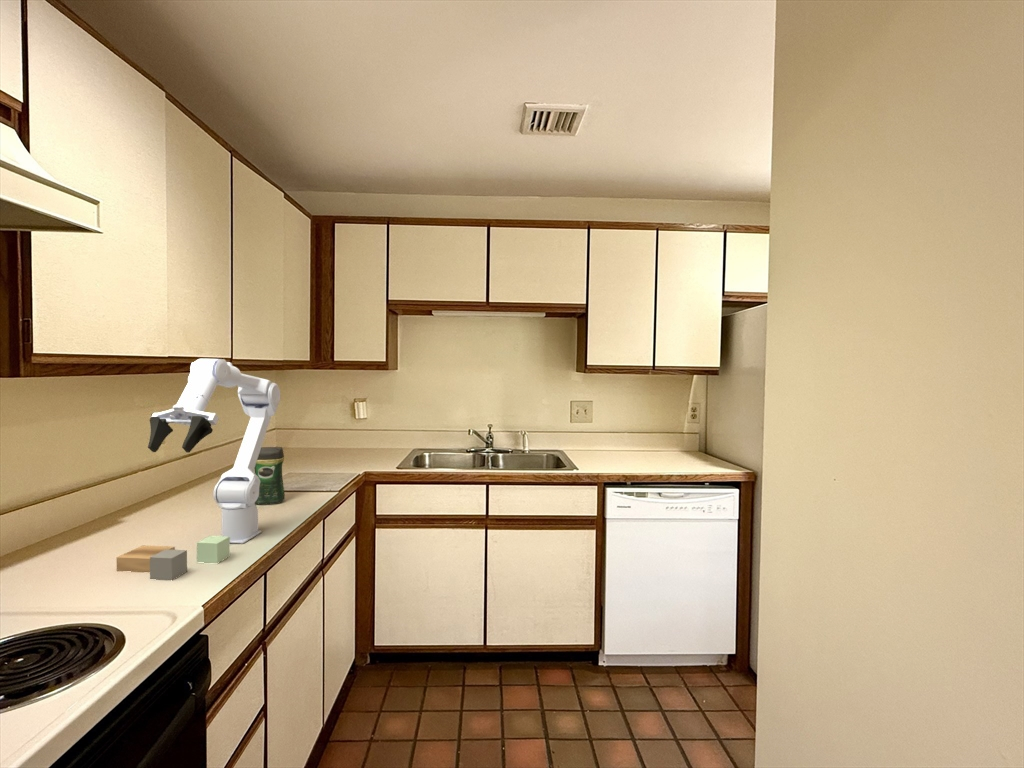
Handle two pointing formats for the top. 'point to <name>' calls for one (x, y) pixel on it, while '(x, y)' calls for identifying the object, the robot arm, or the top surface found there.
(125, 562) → the walnut base
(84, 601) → the top surface
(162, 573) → the charcoal cube
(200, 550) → the sage cube
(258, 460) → the coffee jar
